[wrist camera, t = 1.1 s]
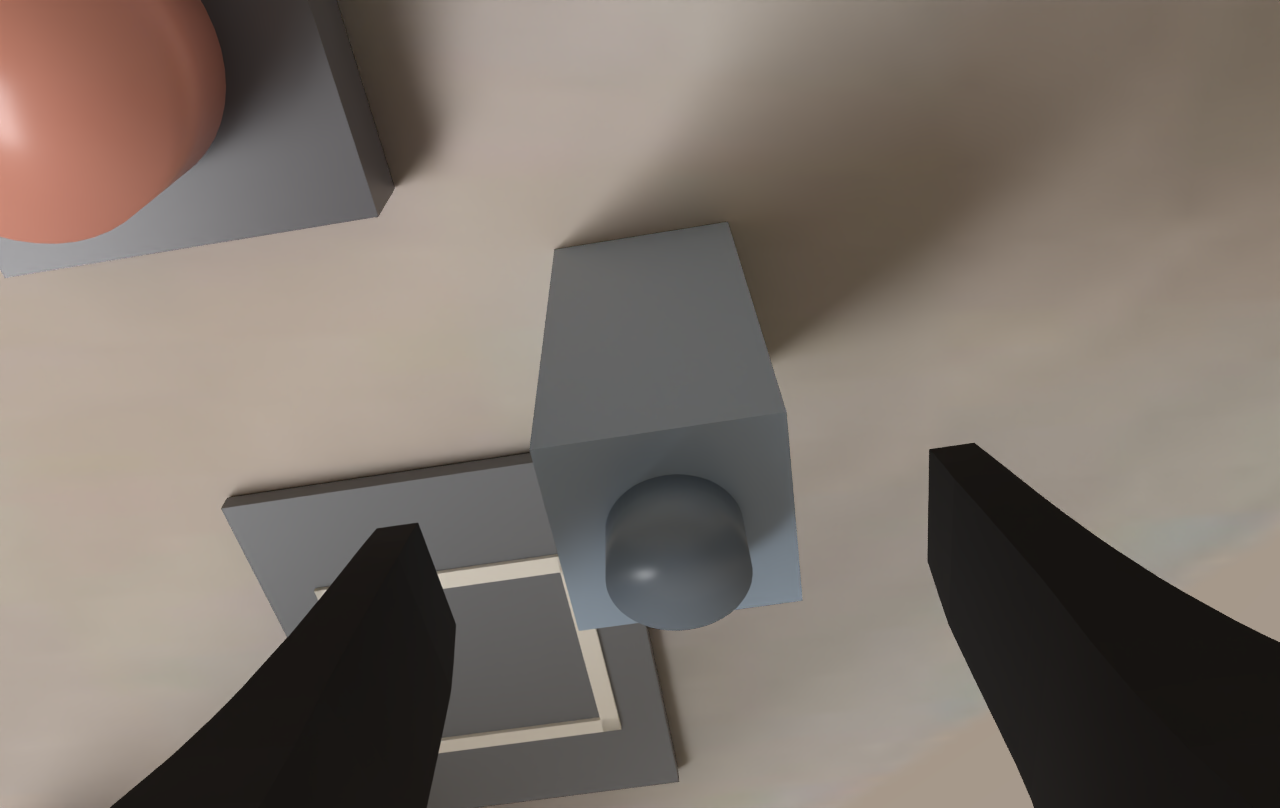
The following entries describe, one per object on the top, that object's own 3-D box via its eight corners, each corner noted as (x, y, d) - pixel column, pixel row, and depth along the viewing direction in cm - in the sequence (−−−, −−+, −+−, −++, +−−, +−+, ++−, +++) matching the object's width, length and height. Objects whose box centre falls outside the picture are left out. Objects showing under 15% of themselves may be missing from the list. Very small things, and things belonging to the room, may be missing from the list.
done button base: (47, 246, 18) (5, 278, 17) (-177, -171, 14) (-255, -171, 13) (394, 188, 18) (378, 216, 16) (257, -256, 14) (222, -264, 13)
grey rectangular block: (587, 395, 20) (576, 681, 13) (554, 249, 18) (523, 494, 12) (744, 371, 20) (815, 650, 13) (727, 222, 18) (800, 455, 11)
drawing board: (383, 807, 28) (380, 822, 27) (227, 498, 21) (219, 511, 21) (678, 769, 27) (679, 784, 27) (607, 441, 21) (608, 453, 20)
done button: (14, 212, 15) (-67, 265, 13) (-146, -81, 13) (-272, -67, 11) (268, 170, 15) (220, 217, 13) (151, -138, 13) (73, -132, 11)
